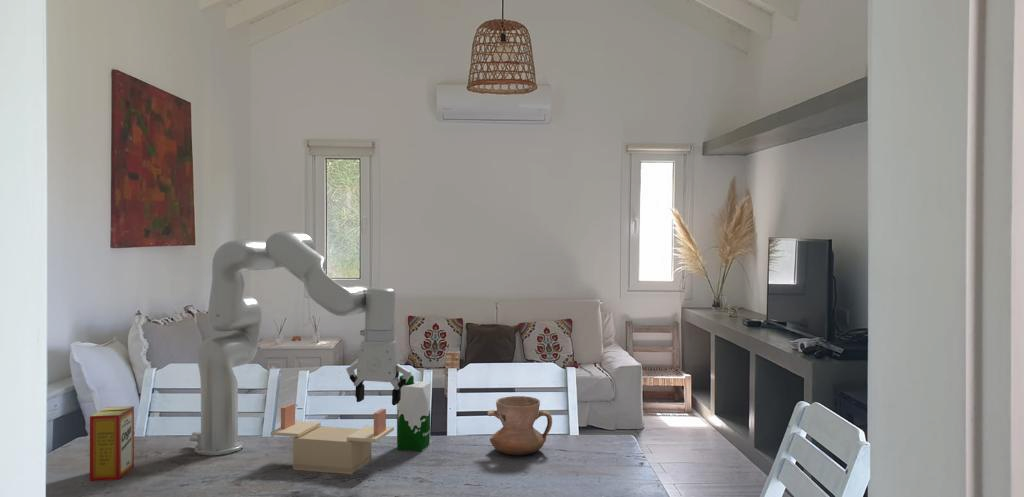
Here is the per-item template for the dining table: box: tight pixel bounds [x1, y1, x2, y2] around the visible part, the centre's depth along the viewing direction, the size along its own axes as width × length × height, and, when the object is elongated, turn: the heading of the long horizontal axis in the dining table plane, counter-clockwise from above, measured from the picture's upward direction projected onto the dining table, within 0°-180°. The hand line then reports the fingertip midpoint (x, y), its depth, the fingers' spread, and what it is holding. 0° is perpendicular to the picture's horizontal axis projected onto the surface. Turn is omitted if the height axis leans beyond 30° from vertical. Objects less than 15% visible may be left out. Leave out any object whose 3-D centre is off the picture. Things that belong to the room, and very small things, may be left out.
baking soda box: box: [89, 406, 135, 482], centre depth 171 cm, size 10×6×16 cm
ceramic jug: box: [487, 395, 553, 456], centre depth 191 cm, size 18×14×14 cm
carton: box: [292, 425, 373, 475], centre depth 179 cm, size 16×12×8 cm
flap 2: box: [347, 408, 395, 443], centre depth 177 cm, size 8×12×6 cm
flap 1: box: [270, 403, 322, 438], centre depth 182 cm, size 8×12×6 cm
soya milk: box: [396, 374, 432, 452], centre depth 195 cm, size 9×9×20 cm
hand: (377, 402), depth 177 cm, fingers open, 9 cm apart
